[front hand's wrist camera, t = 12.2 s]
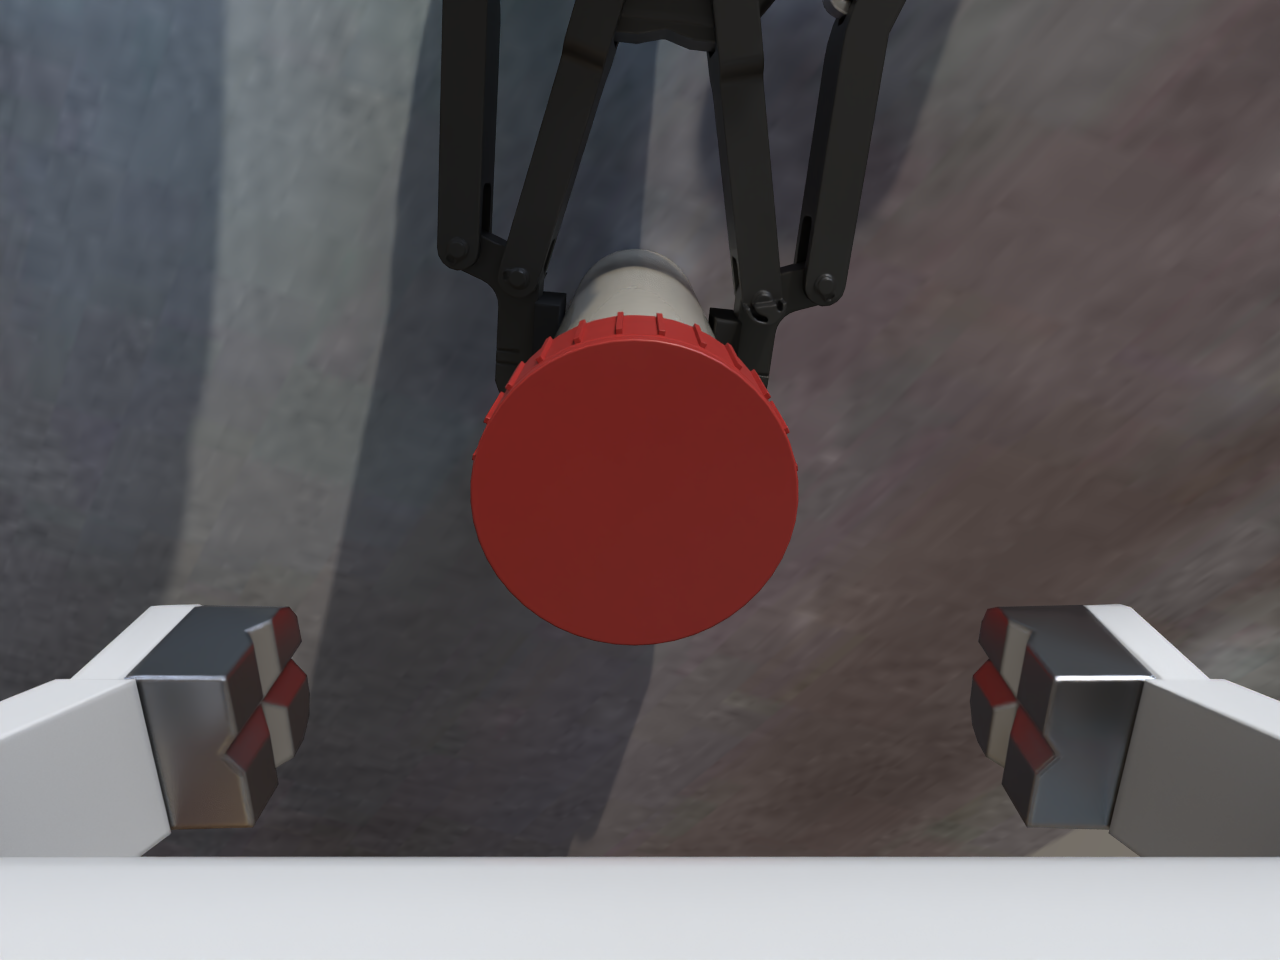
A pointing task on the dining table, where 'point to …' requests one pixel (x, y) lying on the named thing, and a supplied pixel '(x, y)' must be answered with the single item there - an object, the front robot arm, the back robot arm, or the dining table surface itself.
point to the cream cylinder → (635, 291)
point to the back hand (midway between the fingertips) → (620, 497)
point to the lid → (634, 481)
